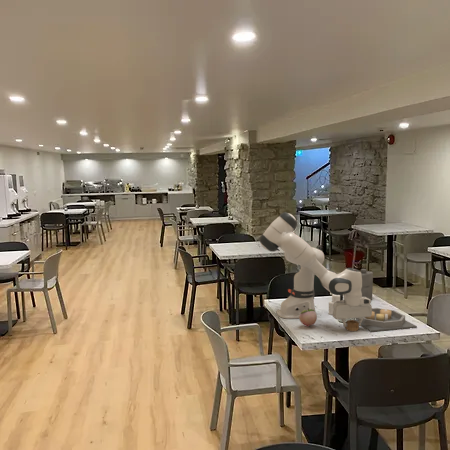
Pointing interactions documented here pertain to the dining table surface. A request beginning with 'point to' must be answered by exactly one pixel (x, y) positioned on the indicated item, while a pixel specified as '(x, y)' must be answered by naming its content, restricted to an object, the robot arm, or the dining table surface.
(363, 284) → the flask
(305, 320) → the decorative fruit
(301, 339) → the dining table surface
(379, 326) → the grey octagonal tray
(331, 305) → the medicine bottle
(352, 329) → the planet gear
